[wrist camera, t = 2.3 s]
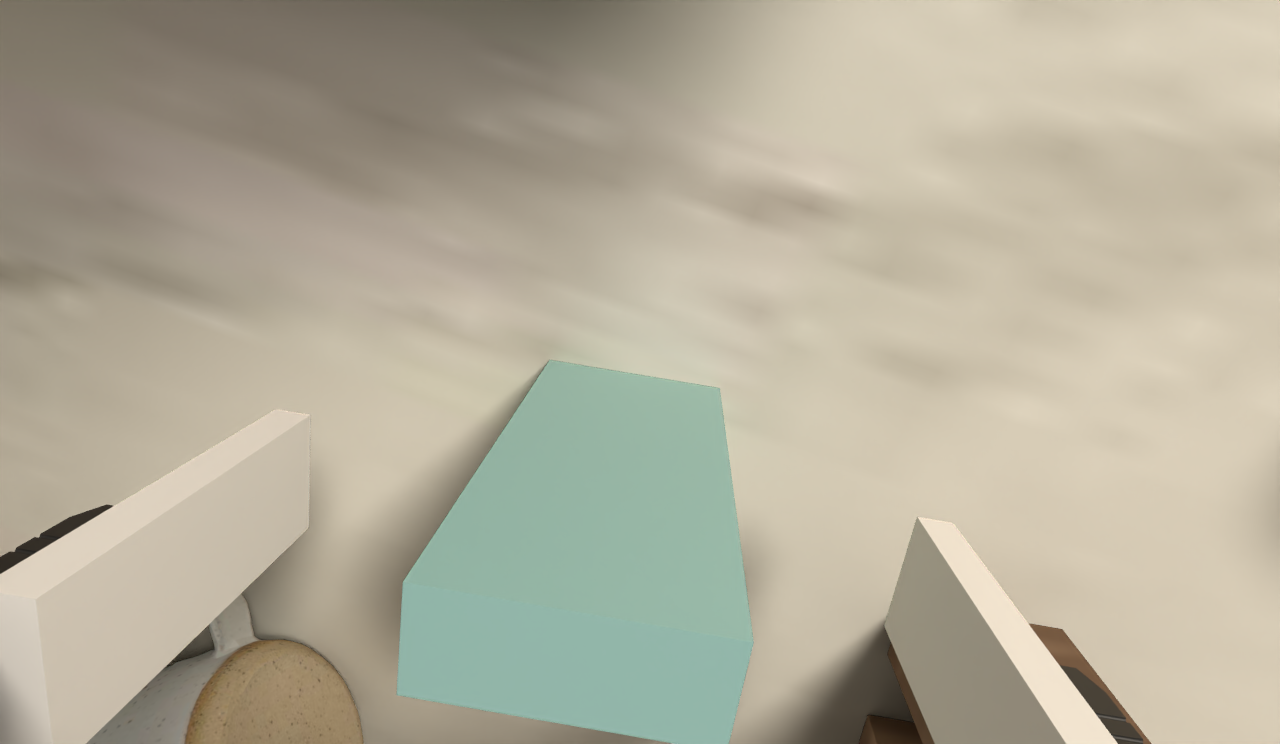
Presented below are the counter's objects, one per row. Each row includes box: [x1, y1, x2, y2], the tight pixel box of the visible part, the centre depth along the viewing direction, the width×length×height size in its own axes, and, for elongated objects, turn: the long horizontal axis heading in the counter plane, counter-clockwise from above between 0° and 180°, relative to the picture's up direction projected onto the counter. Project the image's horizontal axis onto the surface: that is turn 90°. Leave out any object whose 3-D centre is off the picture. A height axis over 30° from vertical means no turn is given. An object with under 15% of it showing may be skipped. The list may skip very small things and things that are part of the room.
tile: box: [397, 360, 754, 744], centre depth 15 cm, size 2×5×11 cm, turn 81°
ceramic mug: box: [86, 593, 363, 744], centre depth 21 cm, size 11×8×8 cm
